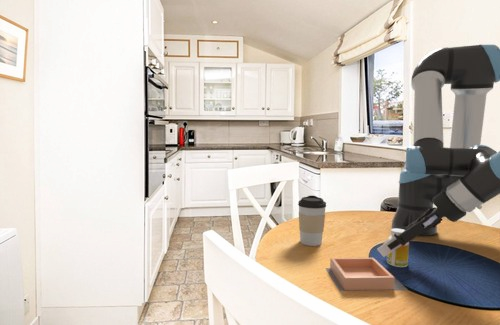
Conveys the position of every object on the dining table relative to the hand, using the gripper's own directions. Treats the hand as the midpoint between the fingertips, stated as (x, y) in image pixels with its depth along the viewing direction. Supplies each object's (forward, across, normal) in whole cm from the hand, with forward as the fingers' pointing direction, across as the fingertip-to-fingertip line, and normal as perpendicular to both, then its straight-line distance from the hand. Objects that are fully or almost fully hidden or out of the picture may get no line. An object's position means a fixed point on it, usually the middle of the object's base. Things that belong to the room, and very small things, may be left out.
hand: (383, 249), depth 92 cm
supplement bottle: (0, 0, -5) cm, 5 cm away
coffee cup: (+19, +1, +14) cm, 23 cm away
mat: (+3, -15, -2) cm, 16 cm away
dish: (+3, -16, -1) cm, 16 cm away
